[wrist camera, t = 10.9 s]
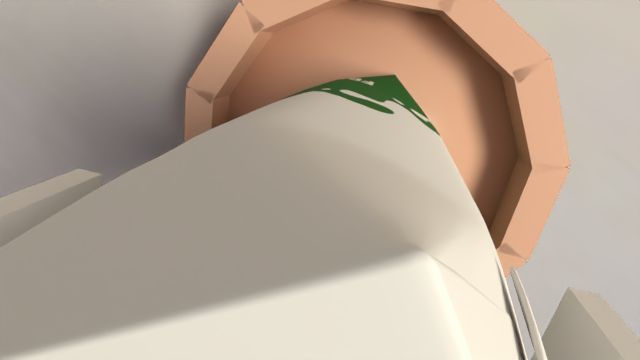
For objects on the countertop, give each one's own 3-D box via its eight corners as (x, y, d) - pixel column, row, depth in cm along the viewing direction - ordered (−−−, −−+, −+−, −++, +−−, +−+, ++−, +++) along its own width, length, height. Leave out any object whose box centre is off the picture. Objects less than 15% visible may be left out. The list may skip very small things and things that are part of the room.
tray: (199, 253, 25) (175, 278, 23) (217, -60, 18) (186, -79, 16) (474, 328, 23) (485, 366, 20) (612, 3, 16) (657, -7, 13)
